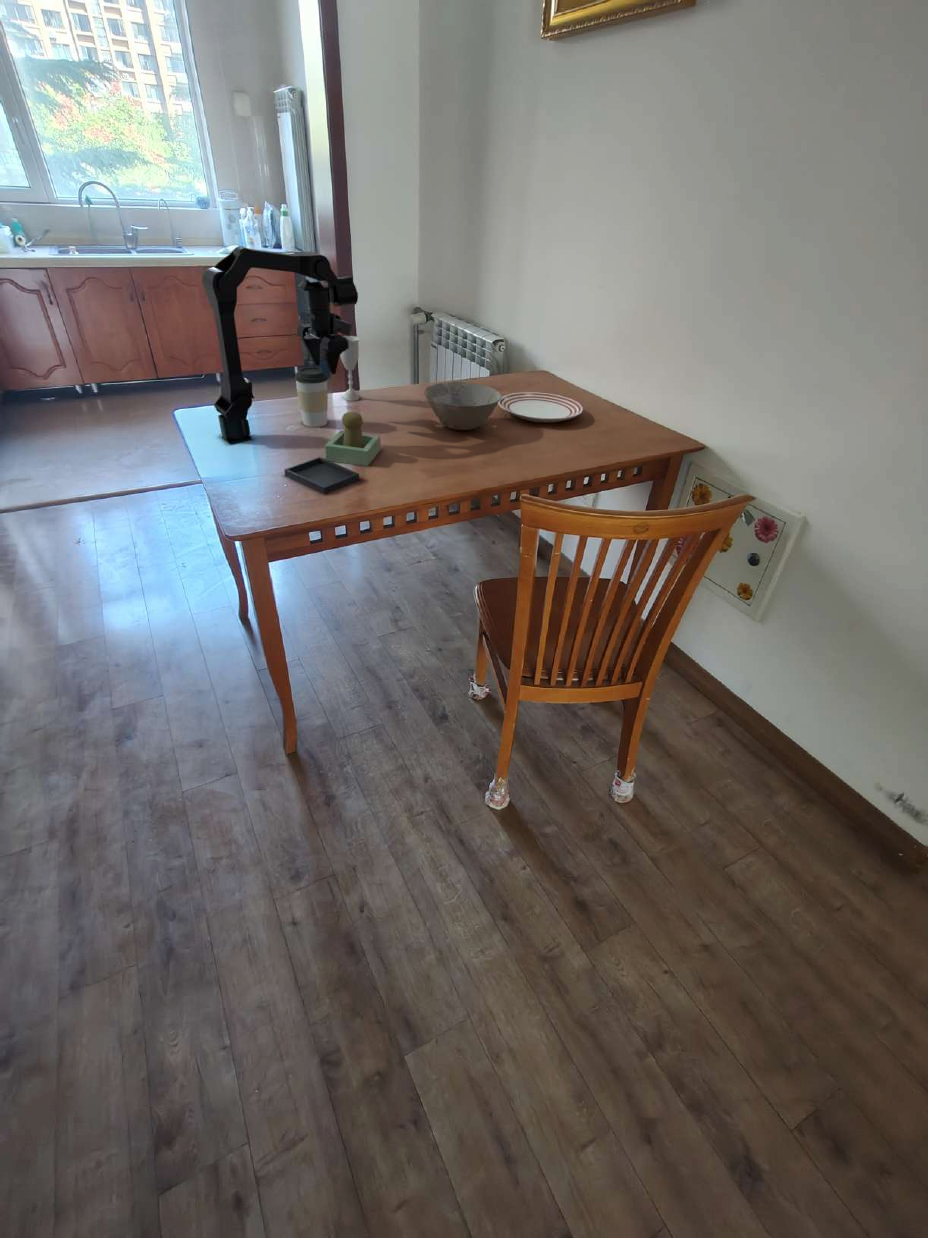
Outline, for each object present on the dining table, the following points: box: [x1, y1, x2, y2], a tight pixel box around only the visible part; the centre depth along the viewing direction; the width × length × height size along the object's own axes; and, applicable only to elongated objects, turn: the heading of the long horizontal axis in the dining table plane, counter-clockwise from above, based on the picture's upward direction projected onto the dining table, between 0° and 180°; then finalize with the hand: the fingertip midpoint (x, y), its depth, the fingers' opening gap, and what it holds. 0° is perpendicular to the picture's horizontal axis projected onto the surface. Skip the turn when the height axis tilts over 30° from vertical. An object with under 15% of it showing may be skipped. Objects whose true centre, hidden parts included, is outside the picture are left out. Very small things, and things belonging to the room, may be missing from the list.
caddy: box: [324, 429, 381, 467], centre depth 155 cm, size 11×11×4 cm
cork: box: [341, 411, 364, 448], centre depth 153 cm, size 6×6×11 cm
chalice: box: [339, 335, 360, 402], centre depth 187 cm, size 7×7×18 cm
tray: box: [284, 456, 360, 495], centre depth 144 cm, size 14×11×2 cm
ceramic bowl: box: [423, 381, 503, 431], centre depth 176 cm, size 22×23×10 cm
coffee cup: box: [294, 366, 329, 428], centre depth 169 cm, size 9×9×15 cm
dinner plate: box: [497, 391, 584, 424], centre depth 192 cm, size 28×27×3 cm
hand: (325, 369), depth 166 cm, fingers open, 9 cm apart
